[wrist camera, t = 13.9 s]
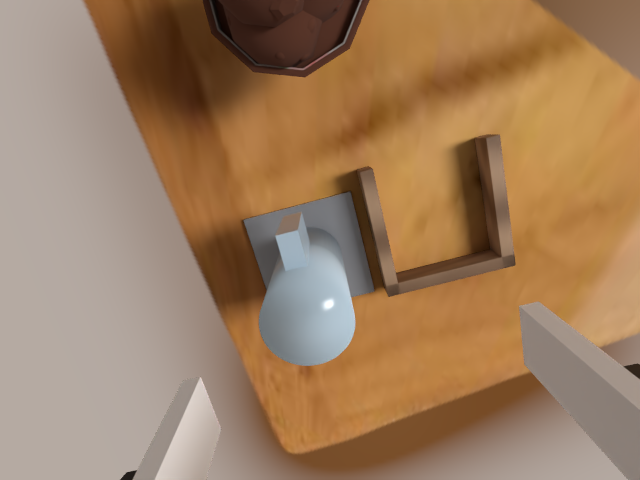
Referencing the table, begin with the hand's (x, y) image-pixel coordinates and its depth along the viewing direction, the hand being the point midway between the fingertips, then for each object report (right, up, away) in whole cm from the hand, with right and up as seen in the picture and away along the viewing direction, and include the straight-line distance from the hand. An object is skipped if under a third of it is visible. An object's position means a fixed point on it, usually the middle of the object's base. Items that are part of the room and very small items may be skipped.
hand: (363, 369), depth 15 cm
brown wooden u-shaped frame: (+10, +8, +22) cm, 26 cm away
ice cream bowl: (-4, +24, +18) cm, 30 cm away
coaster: (-3, +4, +23) cm, 24 cm away
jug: (-3, +5, +23) cm, 23 cm away
